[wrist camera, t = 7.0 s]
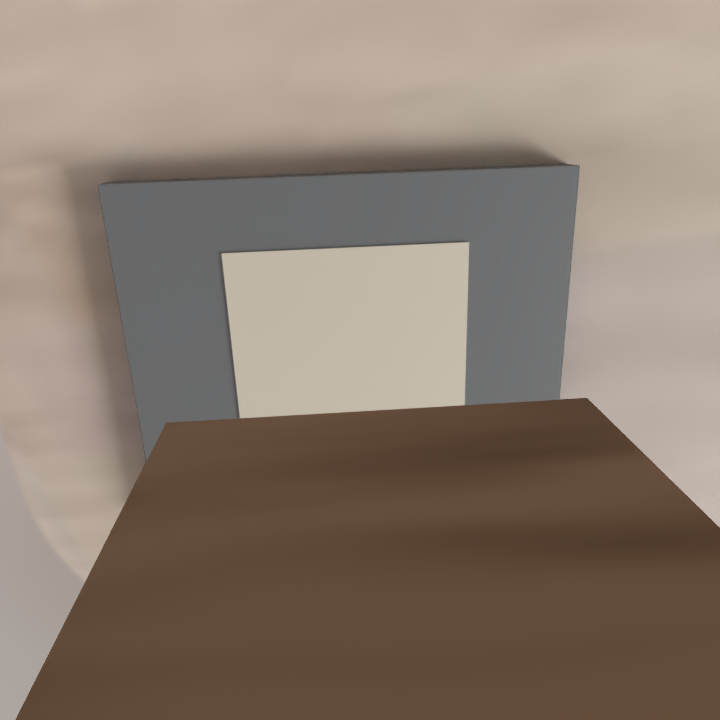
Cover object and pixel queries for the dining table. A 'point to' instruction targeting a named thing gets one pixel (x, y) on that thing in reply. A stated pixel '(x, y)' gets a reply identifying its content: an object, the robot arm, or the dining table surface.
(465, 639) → the walnut block
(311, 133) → the dining table surface
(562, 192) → the grey flat slab
